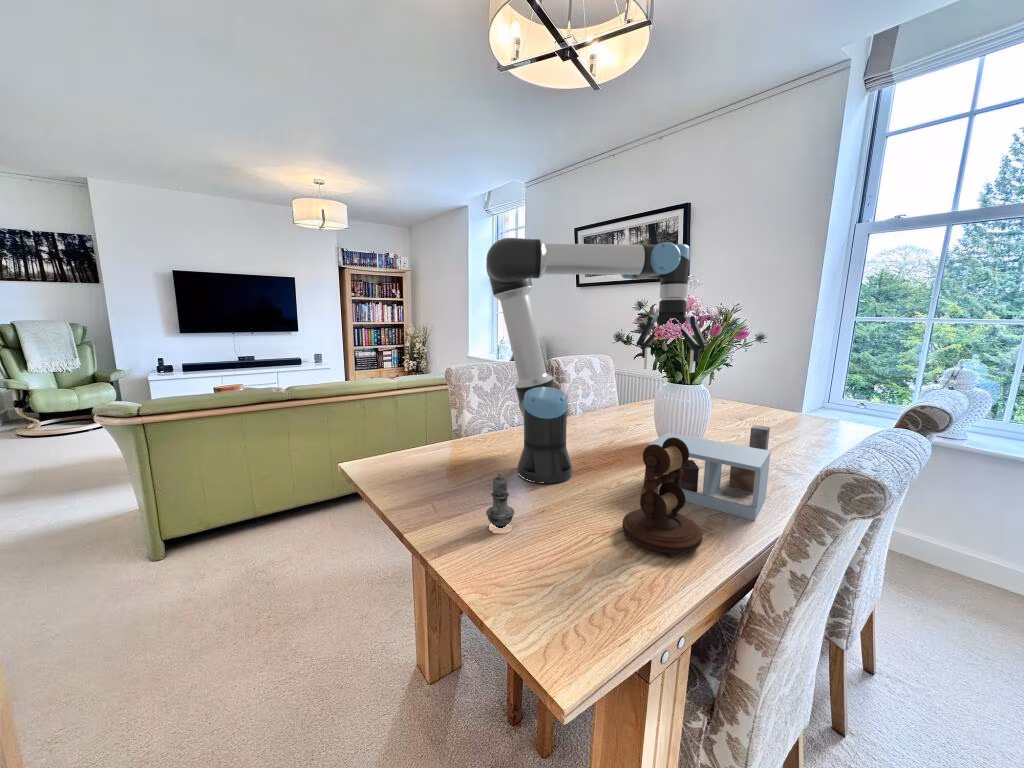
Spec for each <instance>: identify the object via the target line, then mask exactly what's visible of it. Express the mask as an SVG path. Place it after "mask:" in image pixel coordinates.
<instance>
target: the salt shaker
mask: <svg viewBox="0 0 1024 768" xmlns="http://www.w3.org/2000/svg"><path fill="white" fill-rule="evenodd" d="M509 496H510V494H509V492H508V480H507V479H506V478H505V477H503V476H502V474H501V473H498V476H497V477H495V478H494V479H493V481H492V493H491V497H492V506H491V507H488V509H487V510H486V512H485V514H486V516H487V519H488V521H489V523H490V524H491V523H492V524H493V525H495V526H496V527H498V528H503V527H505V526H506V525H507V524H509V523H511V522H512V520H513V517H514V515H515V509H514V508H513V507H511V506H509V504H508V498H509Z"/></svg>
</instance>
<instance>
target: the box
mask: <svg viewBox="0 0 1024 768" xmlns="http://www.w3.org/2000/svg"><path fill="white" fill-rule="evenodd" d="M681 469H682V470H683V476H682V478H681V480H679V482H680V486H681V487H680V488H682V489H685V490H689V491H693V492H697V493H698V489H699V488H698V487H699V486H698V485H699V472H700V468H699V466H698V465H697V464H696V462H695V461H694V460H693V459H688V461H687V462H686V463H685V464H684V465H682V467H681ZM668 482H672V483H674V479H671V480H670V481H668Z"/></svg>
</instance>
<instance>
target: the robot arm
mask: <svg viewBox="0 0 1024 768" xmlns="http://www.w3.org/2000/svg"><path fill="white" fill-rule="evenodd" d="M690 258H691V255H690V246H689V245H687V244H685V243H673V242H670V241H669V242H668V241H665V242H659V243H657V244H632V243H631V244H626V243H625V244H624V243H623V244H622V243H621V244H619V243H617V244H616V243H613V244H612V243H607V244H606V243H545V242H544V241H543V240H542V239H539V238H521V237H520V238H518V237H505V238H501V239H499V240H497V241H495V242H494V243H493V244H492V245H491V246H490V247H489V249H488V252H487V255H486V261H485V262H486V263H485V264H486V266H485V268H486V273H487V276H488V278H489V282H490V287H491V290H492V291H491V292H492V294H493V297H494V298H496V299H497V300H499V301H500V306H501V309H502V314H503V319H504V323H505V326H506V331H507V334H508V335H507V336H508V339H509V342H510V343H509V344H510V347H511V352H512V357H513V360H514V366H515V370H516V374H517V378H518V379H517V382H516V384H515V385H514V386H515V390H516V395H517V398H518V407H519V409H520V412H521V414H522V418H523V448H522V451H521V455H520V457H519V461H518V463H517V474H518V473H519V474H520V475H521V476H522V477H524V478H525V479H528V480H531V481H535V482H544V483H554V484H557V483H556V482H560V483H563V482H566V481H568V480H570V478H572V476H573V465H572V462H571V459H570V455H569V453H568V449H567V428H568V427H567V424H568V422H567V421H568V420H567V419H568V418H567V417H568V400H567V399H568V397H567V395H566V393H565V392H564V391H563V390H561V389H558V388H556V386H555V381H554V378H553V376H552V375H550V374H549V373H548V372H547V369H546V365H545V360H544V355H543V352H542V348H541V342H540V338H539V334H538V328H537V324H536V320H535V316H534V311H533V307H532V302H531V299H530V298H531V297H530V292H531V290H532V289H533V283H532V279H541V278H542V276H544V275H621V277H622V279H625V280H626V279H629V280H631V281H632V280H647V279H648V280H654V279H655V280H659V279H660V282H659V285H660V287H659V299H661V300H660V301H659V302H658V303H659V304H658V316H655V315H649V316H647V321H646V325H645V327H644V328H643V330H642V332H641V334H640V336H639V338H638V340H637V341H636V346H638V345H639V347H641V349H642V350H641V358H642V359H644V363H643V369H644V370H648V369H650V367H651V350H652V348H651V347H650V345H651V344H652V343H653V342H654V341H655V340H654V337H655V335H654V334H655V330H656V329H657V327H659V326H660V325H663V324H666V323H667V321H668V320H669V319H670V318H676V319H677V320H679V322H680V323H681V324H683V323H684V322H685V321H686V322H688V324H690V327H691V329H692V331H693V334H694V336H695V338H696V339H695V338H693V336H692V335H691V333H688V332H689V331H688V332H686V331H685V330H684V329H683V328H682V327H681V326H680V327H681V332H682V334H681V335H682V336H683V338H684V339H685V340H686V341H687V343H688V344H689V346H690V347H691V348H692V350H690V354H689V370H688V371H689V374H692V373H693V374H694V373H695V372H696V370H695V369H696V362H699V361H700V352H701V350H703V349H707V347H708V345H707V342H706V340H705V337H704V335H703V333H702V331H701V328H700V327H699V324H698V317H697V315H691V316H687V315H686V312H687V300H686V299H687V297H688V280H689V268H690V262H691V260H690ZM685 315H686V317H685ZM686 322H685V323H686ZM656 323H658V326H657V327H656V328H655V330H654V331H653V332H652V333H651V334H650V332H651V330H652V328H653V326H654V324H656ZM672 323H674V324H678V322H677V321H676V320H675V319H674V320H672ZM649 334H650V336H649ZM567 479H568V480H567ZM565 480H566V481H565ZM562 481H563V482H562Z"/></svg>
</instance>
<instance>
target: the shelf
mask: <svg viewBox="0 0 1024 768" xmlns="http://www.w3.org/2000/svg"><path fill="white" fill-rule="evenodd" d="M672 437H674V438H678V439H680V440H682V441H683V442H684V443H685V444H686V446H687V447H688V450H689V458H692V459H695V460H702V461H704V471H703V484H702V486H703V487H702V493H700V492H698V491H697V492H693V491H689V490H685V489H682V488H681V489H682V490H683V492H684V494H685V499H686V501H685V503H686V502H687V503H690V504H694V505H697V506H700V507H704V508H707V509H708V508H709V509H712V510H715V511H719V512H723V513H726V514H730V515H733V516H737V517H740V518H744V519H747V520H751V521H755V522H756V520H757V518H758V516H759V513H760V512H761V509H762V507H763V505H764V504H765V502H766V499H767V497H766V496H767V488H768V479H769V472H770V471H769V470H770V462H771V454H772V451H771V450H763V449H757V448H752V447H749V446H745V445H741V444H735V443H734V444H733V443H730V442H723V441H718V440H713V439H707V438H701V437H694V436H691V435H684V434H680V433H679V434H678V433H672V432H666V433H664V434H663V435H661V436H660V437H658V438H657V439H655V440H653V441H651V442H650V443H648V445H647V446H649V445H652V444H656V445H659V446H661V447H662V445H663V443H664V441H665V440H667V439H668V438H672ZM723 465H724V466H730V467H731V466H734V467H738V468H743V469H748V470H753V471H755V479H754V489H753V492H752V500H751V506H750V505H745V504H743V503H738V502H734V501H732V500H731V501H730V500H727V499H725V498H724V499H723V498H719V497H716V496H715V495H716V494H717V493H718V492H719V490H720V487H721V478H722V466H723ZM661 485H662V484H660V485H659V486H658V494H659V489H660V486H661Z"/></svg>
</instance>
